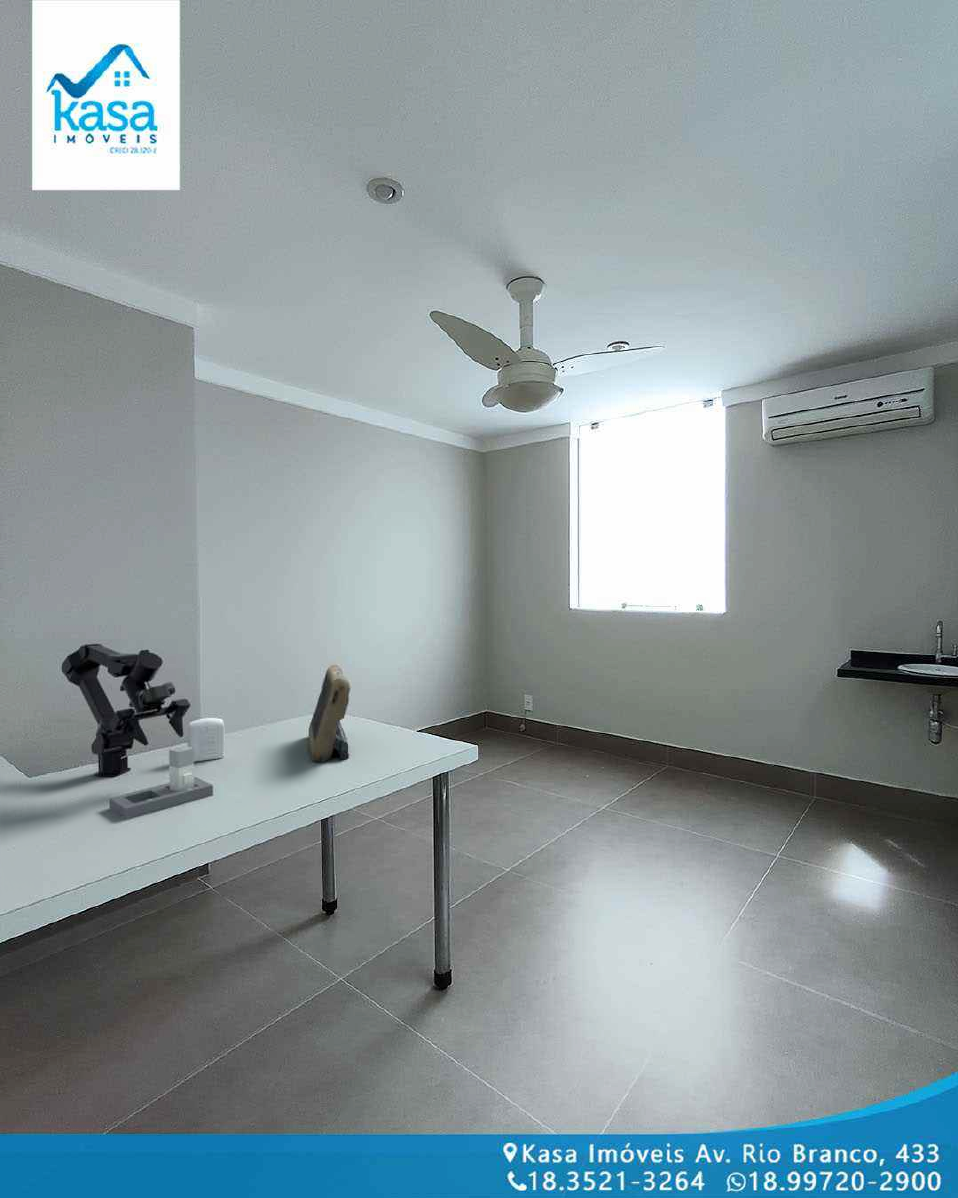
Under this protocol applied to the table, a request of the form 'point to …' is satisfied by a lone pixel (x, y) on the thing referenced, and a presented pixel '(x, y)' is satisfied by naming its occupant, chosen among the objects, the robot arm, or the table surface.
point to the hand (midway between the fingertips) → (164, 740)
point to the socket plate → (157, 798)
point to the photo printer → (206, 738)
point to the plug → (181, 768)
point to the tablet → (330, 717)
